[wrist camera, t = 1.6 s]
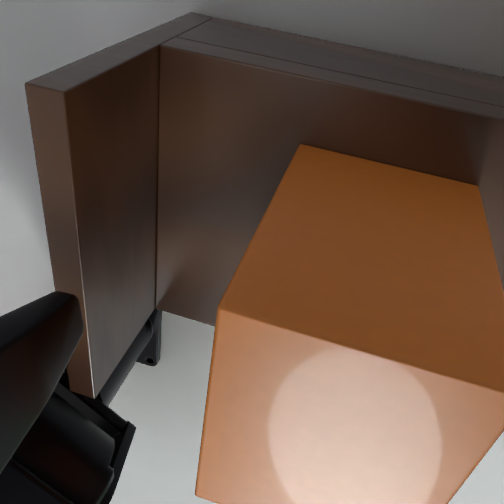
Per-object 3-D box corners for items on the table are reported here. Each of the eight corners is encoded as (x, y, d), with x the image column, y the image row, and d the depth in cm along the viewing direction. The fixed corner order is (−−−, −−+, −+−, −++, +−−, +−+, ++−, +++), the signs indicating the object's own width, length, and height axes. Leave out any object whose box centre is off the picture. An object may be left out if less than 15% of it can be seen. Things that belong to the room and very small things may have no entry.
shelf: (471, 323, 23) (501, 535, 15) (177, 242, 25) (69, 391, 17) (599, 96, 17) (770, 260, 9) (189, 12, 19) (23, 81, 11)
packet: (406, 346, 18) (403, 570, 12) (266, 305, 19) (193, 496, 13) (483, 186, 14) (538, 400, 8) (299, 142, 15) (216, 305, 9)
